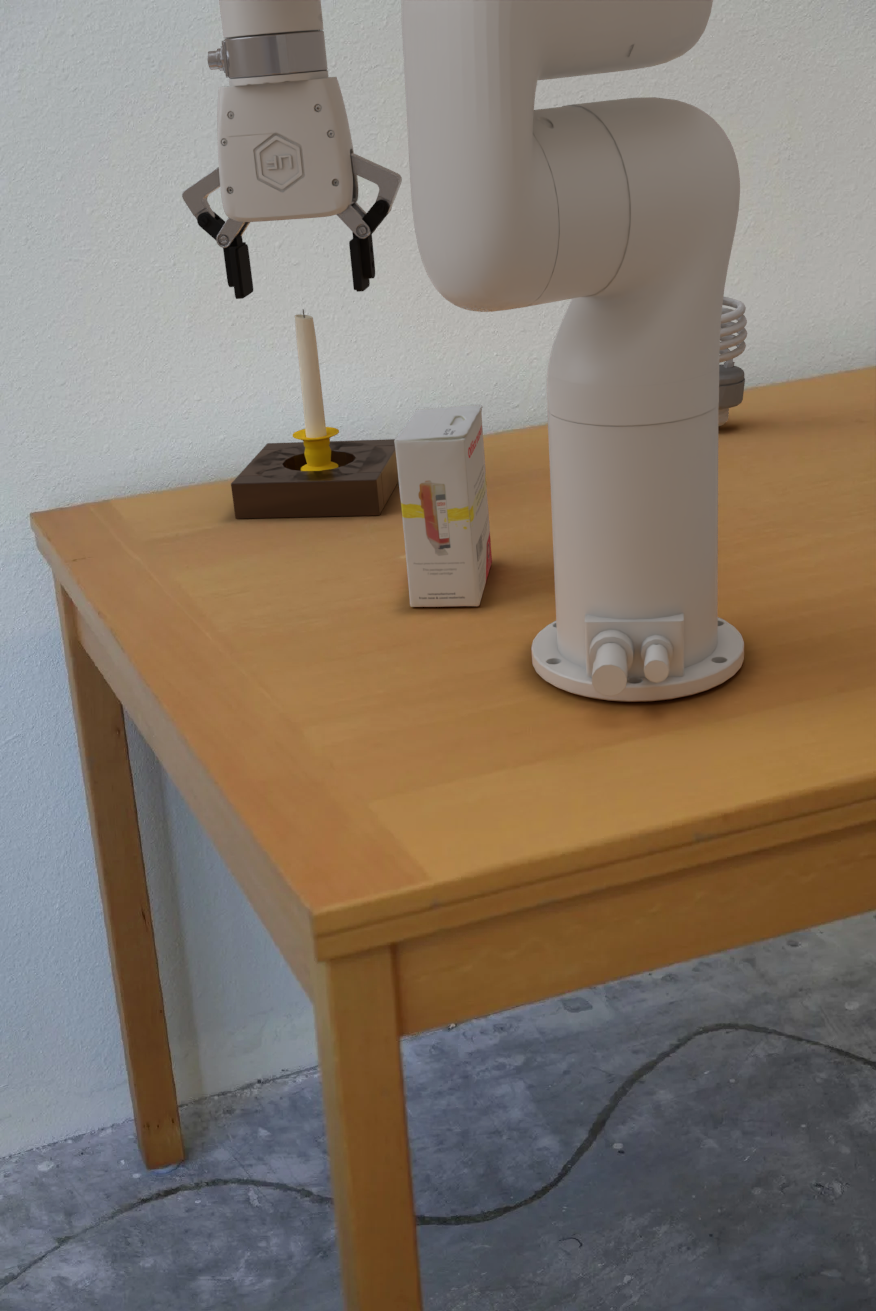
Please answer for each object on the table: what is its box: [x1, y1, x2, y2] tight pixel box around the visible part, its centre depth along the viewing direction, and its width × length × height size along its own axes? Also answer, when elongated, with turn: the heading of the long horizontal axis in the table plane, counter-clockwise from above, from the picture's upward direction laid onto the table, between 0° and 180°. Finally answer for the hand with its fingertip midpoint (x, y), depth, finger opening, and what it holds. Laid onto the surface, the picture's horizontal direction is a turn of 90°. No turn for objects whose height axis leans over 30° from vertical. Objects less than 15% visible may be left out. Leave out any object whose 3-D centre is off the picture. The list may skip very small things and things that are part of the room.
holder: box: [230, 438, 399, 520], centre depth 124 cm, size 12×12×3 cm
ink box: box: [394, 403, 493, 608], centre depth 100 cm, size 9×5×12 cm, turn 171°
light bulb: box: [718, 296, 748, 429], centre depth 132 cm, size 6×6×12 cm
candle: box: [292, 308, 340, 471], centre depth 122 cm, size 5×5×16 cm
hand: (303, 292), depth 118 cm, fingers open, 9 cm apart
